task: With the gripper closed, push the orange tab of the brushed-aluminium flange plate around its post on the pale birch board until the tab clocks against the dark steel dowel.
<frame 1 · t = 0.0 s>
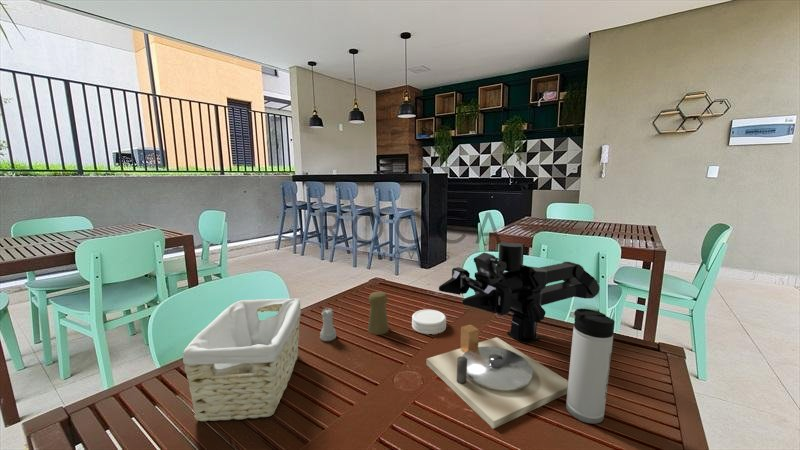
hand: (450, 294, 76), 17 cm above the table, tool horizontal, fingers open, 9 cm apart
birch base board: (495, 376, 73), on the table
flange plate: (491, 354, 73), point 5 cm above the table, hinge at 0.0°
travel mug: (583, 413, 62), on the table
coaster: (428, 327, 96), on the table
storage basket: (256, 384, 70), on the table
cork: (378, 330, 94), on the table
white chess piece: (328, 338, 89), on the table
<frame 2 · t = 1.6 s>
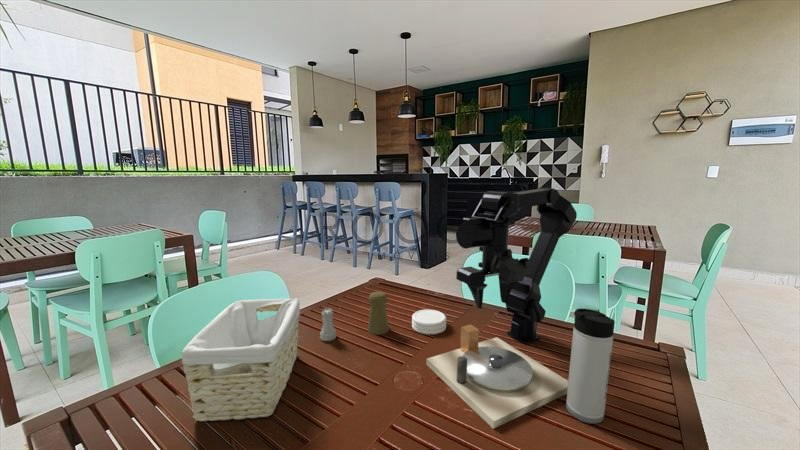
hand: (491, 305, 82), 12 cm above the table, tool pointing down, fingers open, 8 cm apart
nothing on the table moved.
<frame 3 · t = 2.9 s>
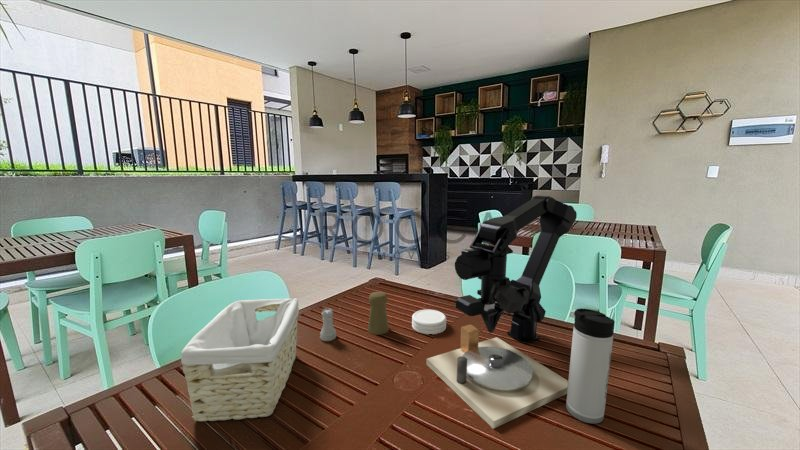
hand: (490, 331, 83), 5 cm above the table, tool pointing down, fingers closed
nothing on the table moved.
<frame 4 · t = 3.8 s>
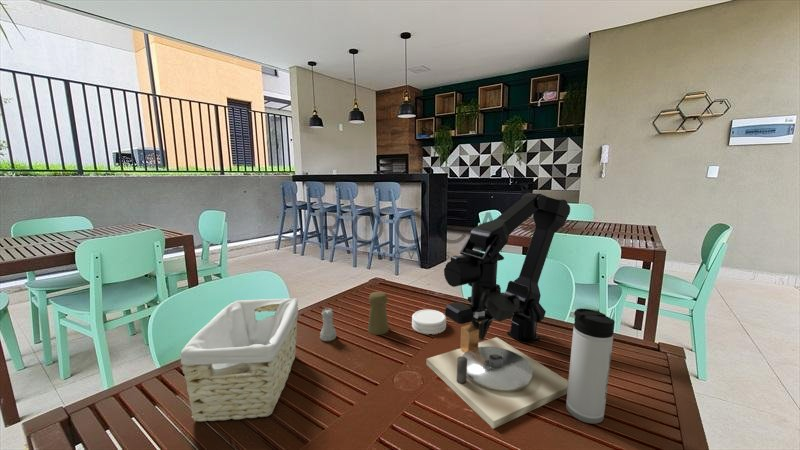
hand: (481, 339, 81), 4 cm above the table, tool pointing down, fingers closed
flange plate: (491, 354, 73), point 5 cm above the table, hinge at 0.0°, touching gripper
everything else where it was.
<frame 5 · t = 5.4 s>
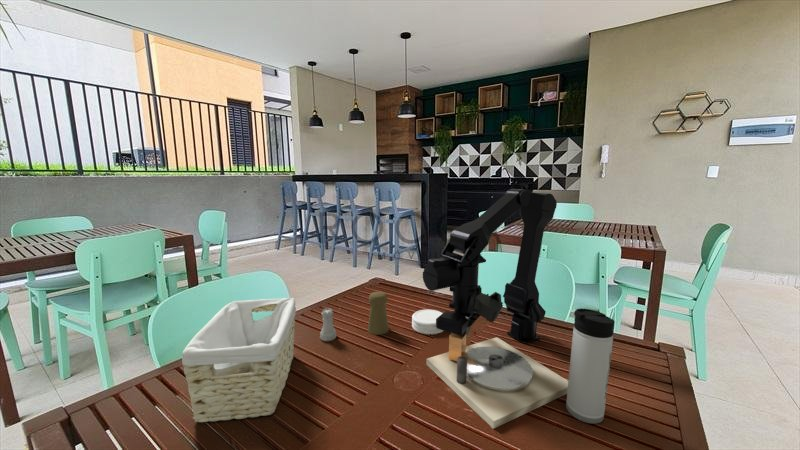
hand: (463, 343, 80), 4 cm above the table, tool pointing down, fingers closed
flange plate: (489, 355, 73), point 5 cm above the table, hinge at 31.2°, touching gripper
everything else where it was.
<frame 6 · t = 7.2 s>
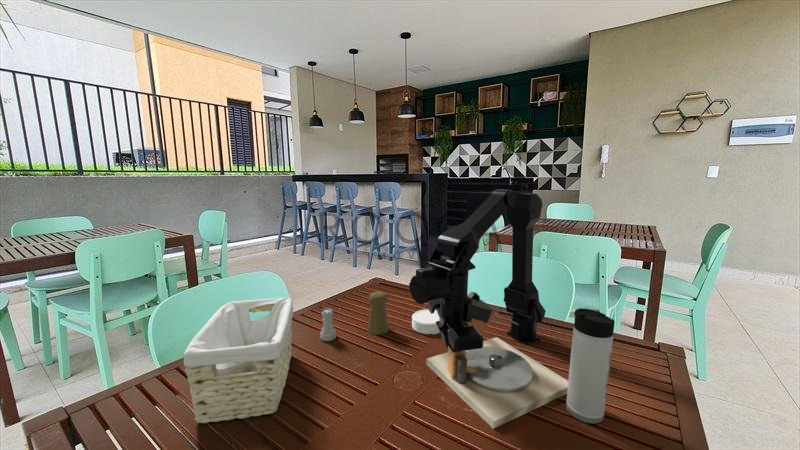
hand: (451, 355, 74), 4 cm above the table, tool pointing down, fingers closed
flange plate: (489, 358, 72), point 5 cm above the table, hinge at 70.4°, touching birch base board, gripper
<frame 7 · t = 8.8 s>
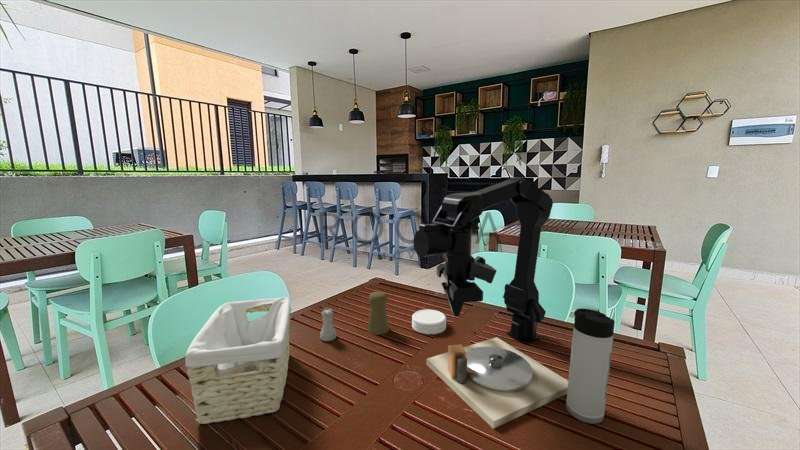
hand: (456, 315, 76), 12 cm above the table, tool pointing down, fingers closed
flange plate: (489, 358, 72), point 5 cm above the table, hinge at 70.4°, touching birch base board
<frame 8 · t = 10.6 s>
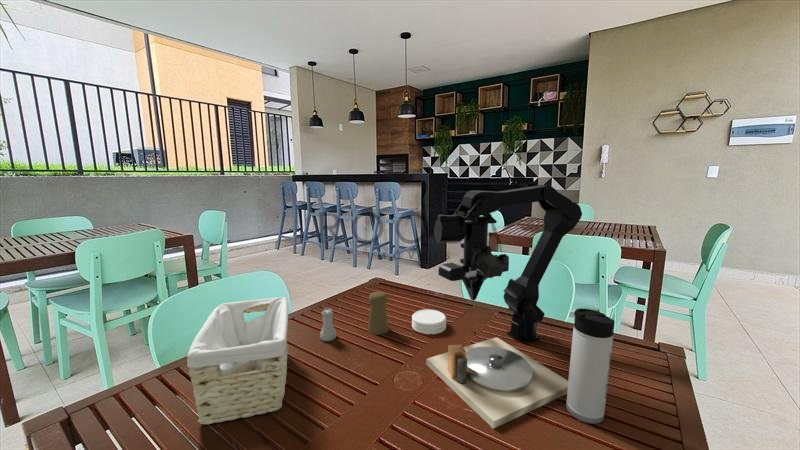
hand: (473, 299, 85), 12 cm above the table, tool pointing down, fingers closed
at the end: flange plate at +70° (first picture: +0°); travel mug moved 0.2 cm from its start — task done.
